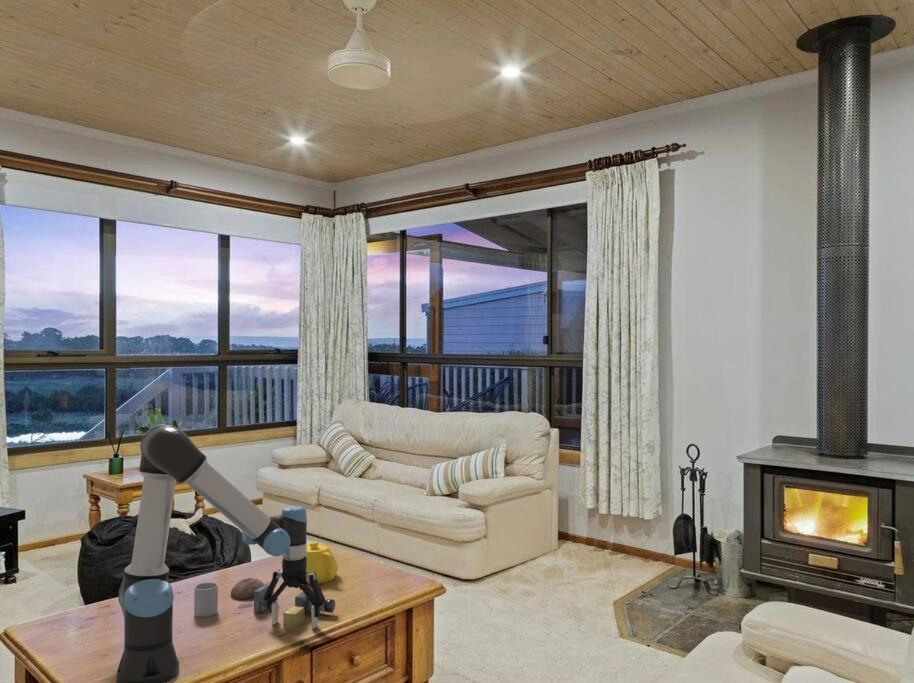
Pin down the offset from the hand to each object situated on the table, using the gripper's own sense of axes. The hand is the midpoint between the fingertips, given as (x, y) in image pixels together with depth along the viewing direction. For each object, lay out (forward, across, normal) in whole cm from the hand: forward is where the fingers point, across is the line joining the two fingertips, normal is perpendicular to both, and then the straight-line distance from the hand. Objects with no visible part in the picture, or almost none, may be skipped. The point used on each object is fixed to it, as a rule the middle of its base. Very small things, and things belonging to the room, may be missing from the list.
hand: (294, 625), depth 215 cm
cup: (0, +34, -3) cm, 34 cm away
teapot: (0, +16, -44) cm, 47 cm away
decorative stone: (0, +30, -22) cm, 37 cm away
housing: (0, +9, -11) cm, 14 cm away
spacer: (0, 0, 0) cm, 0 cm away
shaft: (-1, -2, -11) cm, 11 cm away
